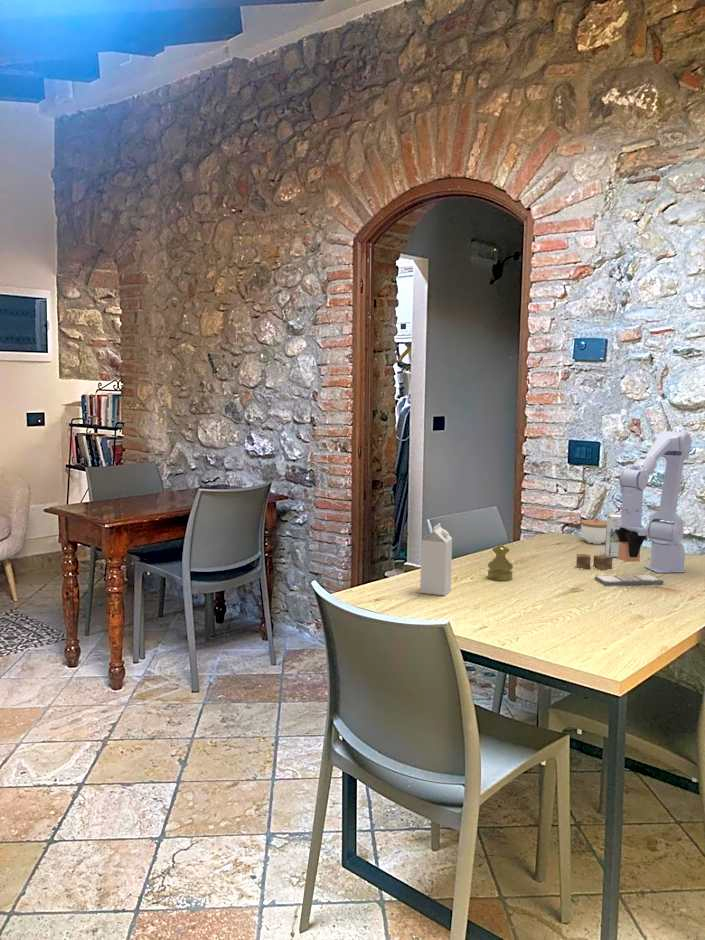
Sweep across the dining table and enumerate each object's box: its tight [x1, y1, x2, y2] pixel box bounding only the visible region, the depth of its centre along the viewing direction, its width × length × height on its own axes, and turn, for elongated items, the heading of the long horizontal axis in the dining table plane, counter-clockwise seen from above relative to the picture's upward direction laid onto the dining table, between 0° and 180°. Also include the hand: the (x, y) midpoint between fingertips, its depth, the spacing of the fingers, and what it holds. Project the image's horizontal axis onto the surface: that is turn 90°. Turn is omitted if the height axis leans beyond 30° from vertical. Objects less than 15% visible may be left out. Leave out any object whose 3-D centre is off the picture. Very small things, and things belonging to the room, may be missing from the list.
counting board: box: [594, 574, 665, 587], centre depth 228 cm, size 18×7×1 cm, turn 97°
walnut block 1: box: [575, 553, 592, 570], centre depth 245 cm, size 4×4×4 cm
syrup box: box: [604, 513, 621, 559], centre depth 261 cm, size 6×6×14 cm
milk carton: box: [419, 522, 453, 596], centre depth 214 cm, size 7×7×19 cm
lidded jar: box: [580, 517, 607, 545], centre depth 284 cm, size 11×11×9 cm
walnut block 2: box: [592, 554, 613, 571], centre depth 244 cm, size 4×4×4 cm
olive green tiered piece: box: [487, 544, 514, 582], centre depth 231 cm, size 7×7×10 cm
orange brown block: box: [617, 542, 641, 563], centre depth 228 cm, size 4×4×5 cm
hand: (629, 554), depth 228 cm, fingers closed on orange brown block, 4 cm apart
